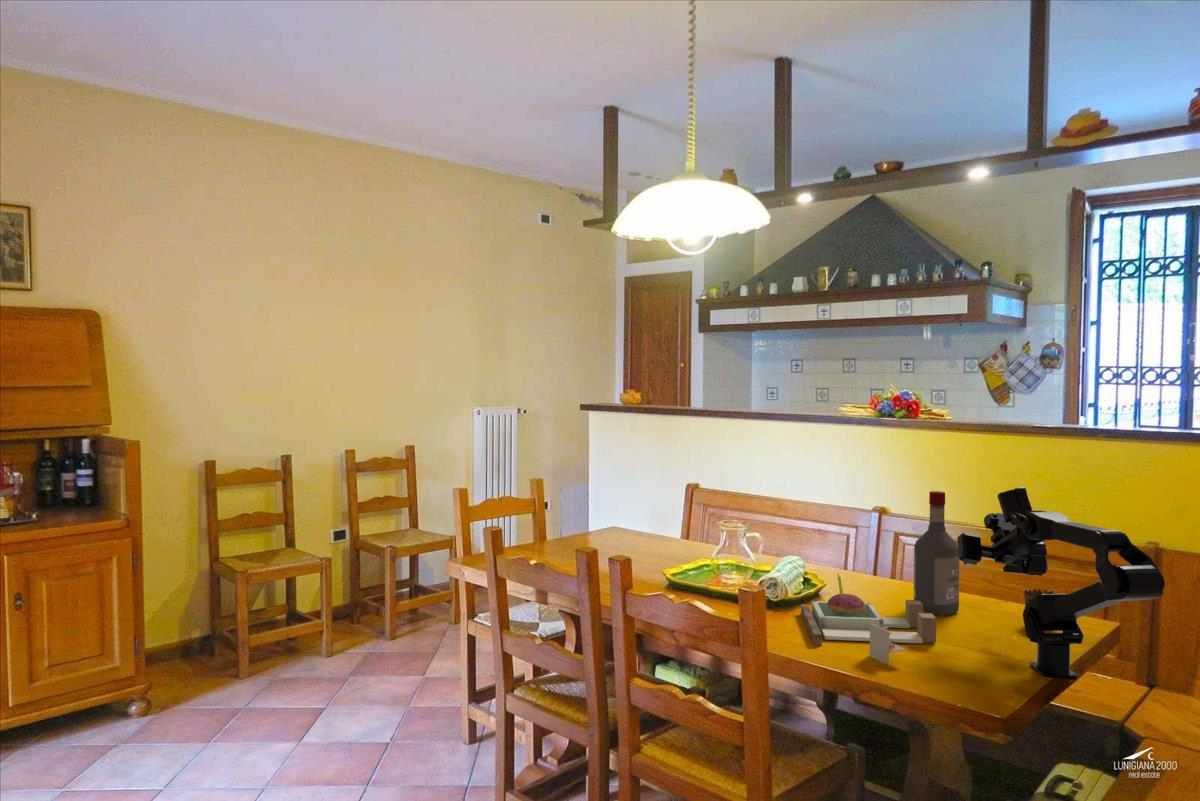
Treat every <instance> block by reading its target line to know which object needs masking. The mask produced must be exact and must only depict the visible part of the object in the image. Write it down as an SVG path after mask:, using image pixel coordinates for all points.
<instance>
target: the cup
mask: <svg viewBox="0 0 1200 801" xmlns="http://www.w3.org/2000/svg"><path fill="white" fill-rule="evenodd" d="M1040 594H1058V593H1057V592H1054V591H1053V590H1050V591H1047V589H1045V590H1044V591H1042V590H1041V589H1040V588H1039V589H1036V588H1034V589H1033V590H1032V589H1031V588H1029V589H1026V588H1025V589H1024V590H1023V595H1024V604H1025V605H1026V604H1027V603H1029V600H1028V599H1034V598H1035V597H1036V596H1038V595H1040Z"/></svg>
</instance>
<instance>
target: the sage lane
mask: <svg viewBox="0 0 1200 801" xmlns="http://www.w3.org/2000/svg"><path fill="white" fill-rule="evenodd" d="M827 603H828V600H827V601H826V600H825V601H822V600H811V613H812V615H813V617H814V619H815V621H816V623H817V626H818V628H819V630H820V631H822V629H843V630H868V631H870V623H871V624H874V625H876V626H878V627H881V628H884V627H888V628H895V629H897V628H899V629H910V628H918V613H924V612H923V604H922V603H921V602H920V601H919V600H914V599H905V612H904V613H905V617H885V616H883V617H882V616H881V615H880V613H879V612H878V611H877V609H876V608H875V607H874V606H873V603H871V602H864V605H865V611H864V612H863V613H861V614H860V616H859V617H836V616H833V613H832V611H831V609H829V608H828V604H827Z"/></svg>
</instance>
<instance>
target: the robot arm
mask: <svg viewBox="0 0 1200 801" xmlns="http://www.w3.org/2000/svg"><path fill="white" fill-rule="evenodd" d="M997 500H998V503H999V506H1000V508H1001V512H1002V513H1001V512H996V513H993V512H990V513H988V514H987V515H985V517H984V519H983V524H984V527H985V529H988V530H991V531H992V535H991V536H990V542H991V543H992V545H991V547H990V546H986V545H985V546H983V545H982V540H981V539H982V538H981V536H979V534H972V533H968V532H962V533H961V534H960V535H959V536H957V545H958V554H959V561H960V562H963V566H965V565H967V566H971V565H972V566H973V565H978V563H980V562H981V560H982V558H984V559H990V560H994V563H995V564H1001V565H1004V566H1003V568H1002V571H1003V573H1009V574H1016V575H1017V574H1019V575H1028V576H1039V577H1041V576H1044V575H1046V574H1047V572H1048V569H1049V564H1048V557H1047V555H1048V550H1047V545H1046V541H1059V542H1061V543H1062V542H1063V543H1066V544H1070V545H1074V546H1078V547H1082V548H1085V549H1089V550H1090V549H1091V550H1092V551H1093V552H1094V554H1095V571H1096V573H1097V575H1098V581H1097V582H1095V583H1092V584H1090V585H1088V586H1085V587H1082V588H1081V589H1078V590H1076V591H1074V592H1070V593H1069V594H1068V593H1057V594H1055V593H1054V594H1040V595H1038V596H1036V597H1035V598H1034V599H1028V600H1029V603H1027V604H1026V605H1025V606H1024V609H1023V610H1022V619H1023V624H1024V630H1025V635H1026V638H1027V639H1029V642H1031V643H1035V644H1036V645H1037V646H1036V648H1037V649H1036V661H1035V662H1034V661H1030V662H1029V665H1030V666H1031V667H1032V668H1033V669H1035V670H1036V672H1038V673H1039V674H1040V675H1041V676H1043V677H1053V678H1054V677H1056V678H1057V677H1058V678H1078V674H1077V673H1076V672H1075V671H1073V670H1072V669H1071V644H1073V645H1075V644H1077V645H1082V644H1083V643H1082V642H1083V639H1084V633H1083V631H1082V630H1081V627H1080V625H1079V624H1078V618H1081V617H1084V616H1086V615H1089V614H1091V613H1095V612H1097V611H1100V610H1103V609H1105V608H1107V607H1111V606H1114V605H1116V604H1119V603H1121V602H1127V601H1128V602H1130V601H1145V600H1155V599H1159V598H1161V597H1162V596H1163V595H1164V591H1163V590H1164V589H1165V585H1166V582H1165V578H1164V576H1163V574H1162V573H1161V571H1160V570H1159V568H1158V566H1157V565H1156V563H1155V562H1154V561H1153V559H1152V558H1151V557H1150V555H1148V554H1147V553H1145V552H1144V551H1142V550H1141V549H1139V547H1137V546H1136V545H1135V544H1133V543H1132V542H1131V540H1130V539H1129V537H1128V535H1127V534H1126V532H1124V531H1121V530H1118V529H1109V528H1108V529H1107V528H1104V527H1098V526H1094V525H1089V524H1085V523H1079V522H1075V521H1072V520H1070V517H1068V516H1067V515H1065V514H1063V513H1061V512H1058V511H1047V510H1033V507H1032V505H1031V503H1030V499H1029V497H1028V492H1027V488H1026V487H1024V486H1023V487H1022V486H1021V487H1020V486H1019V487H1018V486H1017V487H1014V489H1010V490H1006V491H1003V492H1002V491H1001V492H999V493H998V494H997ZM1109 553H1117V554H1118V555H1119V556H1120V558H1122V559H1123V560H1124V561H1125V562H1127V563H1129V565H1127V564H1125V565H1124V564H1123V565H1122V564H1120V565H1117V564H1116V565H1113V564H1112V562H1111V561H1110V559H1109ZM1054 631H1055V632H1054ZM1061 631H1062V632H1061ZM1045 632H1047V633H1045ZM1049 632H1050V633H1049Z"/></svg>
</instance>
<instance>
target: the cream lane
mask: <svg viewBox="0 0 1200 801" xmlns="http://www.w3.org/2000/svg"><path fill="white" fill-rule="evenodd" d="M888 631H889V630H888ZM821 634H822V637H823V638H824V640H832V641H853V642H854V641H855V642H857V641H858V642H870V631H868V630H843V629H822V630H821ZM889 634H890V635H889V642H891V643H892V642H893V640H894V641H895V643H900V644H902V643H904V644H924V643H927V644H928V643H931V644H932V643H933V644H936V643H937V617H936V615H933V614H932V613H924V612H923V613H918V627H917V632H914V631H912V632H911V631H889ZM891 639H892V640H891Z"/></svg>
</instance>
